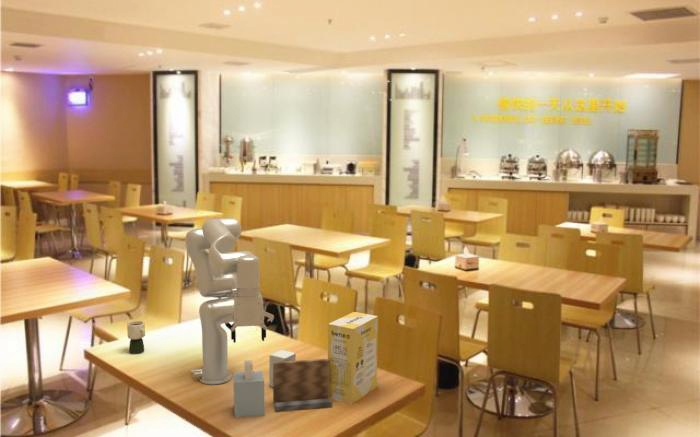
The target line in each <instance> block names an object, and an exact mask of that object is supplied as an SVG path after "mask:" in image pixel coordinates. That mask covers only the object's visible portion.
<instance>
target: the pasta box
mask: <svg viewBox="0 0 700 437" xmlns="http://www.w3.org/2000/svg"><path fill="white" fill-rule="evenodd" d="M378 325H379V316H378V315H374V314H368V313H364V312H356V311H353V312H350V313H348V314H347V315H344V316H342V317H340V318H337V319H336V320H334V321H332V322H330V323H328V325H327V326H328V327H327V333H328V334H327V359H329V398H331V400H332V399H333V400H335V401H338V402H342V403H347V404H350V405H353V404H354V403H356V402H357V401H358V400H360V399H362V398H363V397H365V395H367V394H369V393H370V392H371V391H373V390H374V389H376V388H377V382H378V381H377V376H378V375H377V373H378V338H379V337H378V336H379V335H378V332H379V330H378V328H379V326H378Z"/></svg>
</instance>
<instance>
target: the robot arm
mask: <svg viewBox="0 0 700 437" xmlns="http://www.w3.org/2000/svg"><path fill="white" fill-rule="evenodd" d="M241 234H242V226H241V223H240V221H239V220H238V219H237V218H235V217H217V218H210V219H207V220H205V222H203V224H202V226H201V227H196V228H192V229H190V230H189V231H188V232H186V234H185V238H184V240H185V241H184V242H185V248H186V251H187V254H188V256H189V257H190V260H191V261H192V264H193V267H194V272H195V277H196V283H197V286H198V291H199V294H200V295H201V296H202V297H203V298H215V297H222V298H217V299H209V300H205V301H204V302H202V303H201V304H200V306H199V310H198V313H199V319H200V325H201V339H202V340H201V342H202V344H201V345H202V348H201V349H202V365H201V367H200V368H198V369H197V368H196V369H195V368H191V369H190V374H191V375H193V376H194V377H198V380H199V382H200V383H203V384H205V385H221V384H226V383H228V382H229V381H231V379H233V378H232V377H233V373H231V372H230V371H228V370H229V367H228V361H229V360H228V359H229V357H228V351H229V349H228V333H227V331H226V329H224V327H222V325H223V324H224V325H225V326H226V327H227V329H229V330H230V332H231V333H230V338H231V341H233V343H236V342H237V340H236V338H237V336H236V335H237V333H236V329H237V327H256V326H260V327H261V328H260V329H261V330H260V331H261V341H262V342H264V341H265V339H266V338H267V329H268V327H270V326H271V325H272V322H273V321H274V319H275V316H274V314H272V313H269V312H267V311H265V310H264V301H263V297H262V294H260V258H259V257H258V256H256V255H254V254H253V253H252V251H248V250H242V251H241V250H239V251H233V250H234V249H235V247H236V241H237V240H239V238H240V237H241ZM206 250H208V251H206ZM223 296H224V298H223ZM225 296H227V297H225ZM265 317H266V318H268V319H267V321H264V320H265ZM232 322H233V323H232ZM231 323H232V324H231Z"/></svg>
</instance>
